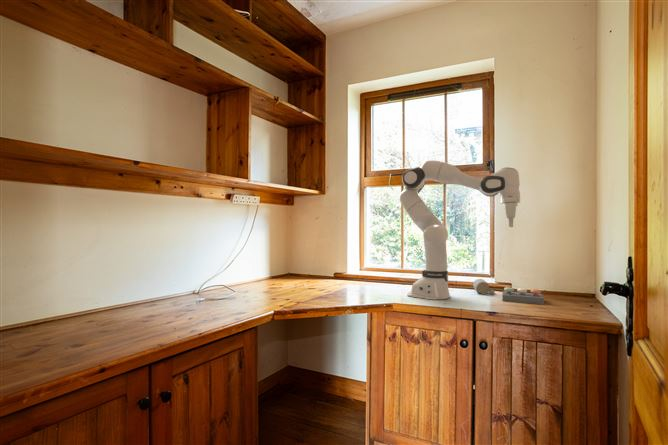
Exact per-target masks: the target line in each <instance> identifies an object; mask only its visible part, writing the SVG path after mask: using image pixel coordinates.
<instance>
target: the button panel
mask: <svg viewBox="0 0 668 445" xmlns="http://www.w3.org/2000/svg"><path fill="white" fill-rule="evenodd" d="M501 301H502V302H509V303H523V304H524V303H525V304H531V305H532V304H534V305H544V304H545V298H544V296H543V294H542V293H541V294H538V296H534V294H533V293H531V292H527V293H524V295H520V293H519V292H517V291H514V292H511V294H507V292H506V291H504V290H502V300H501Z"/></svg>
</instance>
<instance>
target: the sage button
mask: <svg viewBox="0 0 668 445" xmlns="http://www.w3.org/2000/svg"><path fill="white" fill-rule="evenodd" d="M503 289H504V290H503V291H506V292H507V294H511V292H515V289H514V287H510V286H509V287H504V288H503Z"/></svg>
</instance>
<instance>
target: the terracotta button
mask: <svg viewBox="0 0 668 445" xmlns="http://www.w3.org/2000/svg"><path fill="white" fill-rule="evenodd" d="M541 291H542V290H541V289H538V288H537V289H535V288H532V289H530V293H533V294H534V296H538V294H542V292H541Z"/></svg>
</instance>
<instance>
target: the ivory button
mask: <svg viewBox="0 0 668 445" xmlns="http://www.w3.org/2000/svg"><path fill="white" fill-rule="evenodd" d="M516 289H517V290H516V292H519V293H520V295H524V293H528V289H527V288H524V287H523V288H522V287H519V288H516Z"/></svg>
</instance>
